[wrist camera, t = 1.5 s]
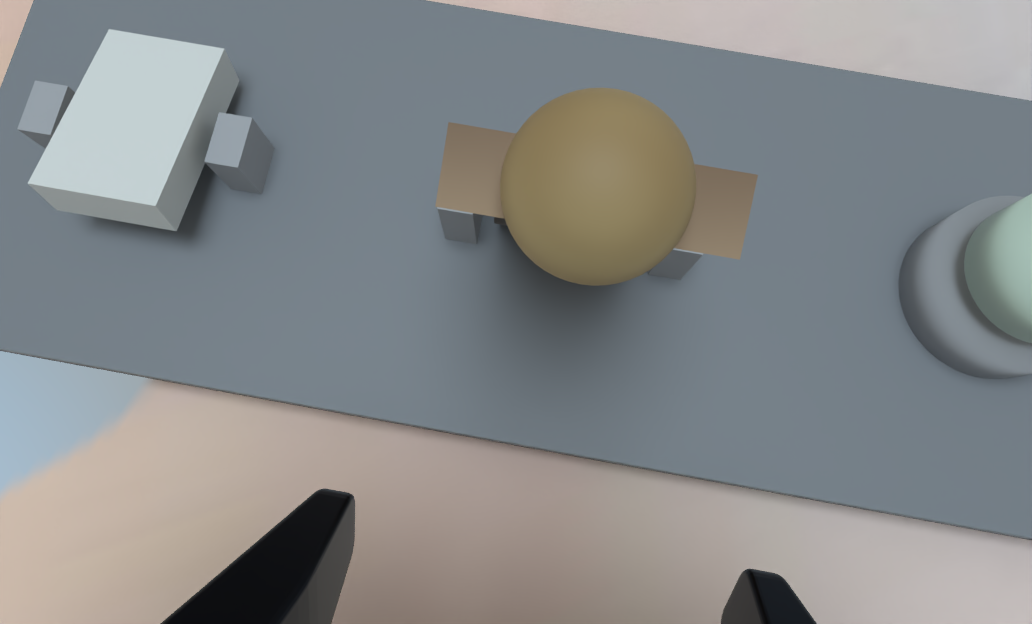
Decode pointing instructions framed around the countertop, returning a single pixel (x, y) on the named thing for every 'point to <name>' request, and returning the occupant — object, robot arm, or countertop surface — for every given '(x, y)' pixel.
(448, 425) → the switch panel
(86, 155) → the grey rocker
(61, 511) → the countertop surface
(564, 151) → the walnut lever
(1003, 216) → the sage button
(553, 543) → the countertop surface
